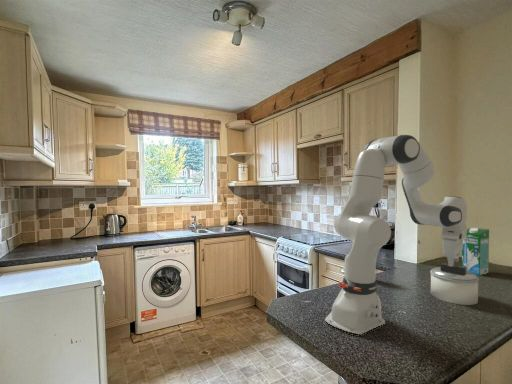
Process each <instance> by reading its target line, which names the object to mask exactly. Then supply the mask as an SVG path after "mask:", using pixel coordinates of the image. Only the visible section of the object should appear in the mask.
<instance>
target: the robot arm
mask: <svg viewBox="0 0 512 384" xmlns="http://www.w3.org/2000/svg"><path fill="white" fill-rule="evenodd" d="M396 165H398V166H399V169H400V171H401V173H402V176H403V178H402V179H401V186H402V190H403V194H404V196H405V199H406V202H407V206H408V209H409V216H410V220H412V222H413V223H415V224H416V225H421V226H424V225H425V226H433V227H441V233H440V239H442V252H443V253H442V254H443V256H444V257H445V258H447V264H448V266H454V265H455V263H458V262H459V258H460V253H462V250H463V238H466V237H467V229H468V226H467V223H466V221H467V218H468V209H467V208H468V207H467V201H466V199H465V198H463V197H462V196H461V197H460V196H453V195H451V196H449V195H448V196H444V198H443V201H442V202H440V203H428V202H425V201H423V199H422V198H421V194H420V191H419V188H420V187H423V186H424V185H426V184H428V183H429V182H430V181H431V180H433V177H434V175H435V167H434V166H435V165H434V164H433V162H432V160H431V158H430V157H429V154H428V153H427V151H426V149H425V148H424V147H423V146H422V144H421V143H420V142H419V141H418V140H417V139H416V137H415V136H413V135H410V134H401V135H395V136H394V135H392V136H385V137H381V138H378V139H377V138H375V139H373V140H371V141H369V142H368V143H366V144H365V146H364V148H363V150H362V151H361V152H360V153H359V154H358V157H357V158H356V161H355V165H354V169H353V173H352V179H351V185H350V191H349V196H348V199H347V201H346V203H345V205H344V207H343V209H342V212H341V213H339V214H338V215H337V216H336V217H335V219H334V221H333V222H334V223H333V227H334V228H333V229H334V230H335V232H336V234H338V235H339V236H341V237H342V238H343V239H345V240H349V241H352V245H351V249H350V251H349V253H347V254H346V255H345V257H344V276H343V279H342V281H339V282H338V287H339V288H341V289H340V291H339V293H338V295H337V296H336V298H335V300H334V302H333V304H332V305H331V306H332V307H331V311H330V313H329V314H328V315H327V316H326V317H325V318H324V322H325V321H326V322H327V323H328V324H330V325H332V326H334V327H337V328H339V329H342V330H344V331H348V332H352V333H356V334H362V333H364V332H367V331H369V330H371V329H373V328H376V327H378V326H380V327H382V326H384V325H386V320H385V319H384V318H383V317H382V304H381V299H380V297H379V295H378V293H377V288H378V283H377V280H376V272H377V271H376V269H377V258H378V256H379V253H380V251H381V248H383V246H385V245H386V244H387V243H388V242H389V240H391V237H392V236H391V234H392V229H391V226H390V224H389V222H387V221H386V220H384V219H382V218H380V217H378V216H376V215H370V213H371V212H372V210H373V208H374V206H375V205H377V204H378V203H380V201H381V199H382V193H383V186H384V181H385V175H386V174H385V172H386V169H385V168H386V167H387V166H396ZM326 322H325V323H326ZM327 323H326V324H327ZM328 324H327V325H328ZM383 324H384V325H383ZM330 325H329V326H330ZM381 325H382V326H381ZM332 326H331V327H332ZM378 328H379V327H378ZM376 329H377V328H376Z"/></svg>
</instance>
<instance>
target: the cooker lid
mask: <svg viewBox="0 0 512 384" xmlns="http://www.w3.org/2000/svg"><path fill="white" fill-rule="evenodd" d="M431 270H432V272H433V273H434V274H435V275H438V276H441V277H444V278H448V279H454V280H462V281H471V280H475V279H476V276H477V275H476V274H474V273H472V272H469V271H467V267H463V266H462V265H457V264H454V266H448V263H445V262H441V263H440V266H437V267H433V268H431Z"/></svg>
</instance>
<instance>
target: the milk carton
mask: <svg viewBox="0 0 512 384" xmlns="http://www.w3.org/2000/svg"><path fill="white" fill-rule="evenodd" d="M489 252H490V229H489V228H488V229H487V228H481V227H469V228H467V237H466V238H463V250H462V251H461V266H463V267H467V271H469V272H472V273H474V274H476V276H479V275H480V276H483V274H484V275H488V274H489V263H490V261H489V260H490V259H489V257H490V256H489V255H490V253H489ZM487 273H488V274H487Z"/></svg>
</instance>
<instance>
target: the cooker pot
mask: <svg viewBox="0 0 512 384" xmlns="http://www.w3.org/2000/svg"><path fill="white" fill-rule="evenodd" d="M429 274H430V294H431V295H432V297H434V298H436V299H438V300H441V301H443V302H446V303H450V304H453V305H454V304H455V305H461V306H473V305H474V306H475V305H477V304H478V302H479V281H480V276H478V275H476V279H475V280H471V281H462V280H454V279H448V278H444V277H441V276H438V275H435V274H434V273H433V272H432V269H431V270H430V271H429Z"/></svg>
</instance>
